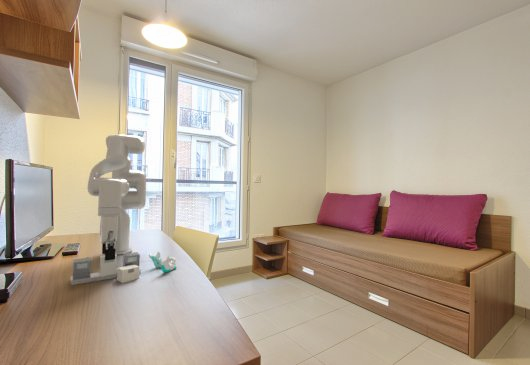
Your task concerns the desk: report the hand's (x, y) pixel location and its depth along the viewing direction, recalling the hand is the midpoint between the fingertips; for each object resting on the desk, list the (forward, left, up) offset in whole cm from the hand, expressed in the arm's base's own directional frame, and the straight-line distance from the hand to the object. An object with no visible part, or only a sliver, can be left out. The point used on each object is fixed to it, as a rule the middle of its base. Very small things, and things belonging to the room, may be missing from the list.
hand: (108, 256), depth 99 cm
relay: (+7, +6, -8) cm, 12 cm away
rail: (+1, 0, -8) cm, 7 cm away
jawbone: (+2, +20, -8) cm, 22 cm away
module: (+1, 0, -6) cm, 6 cm away
